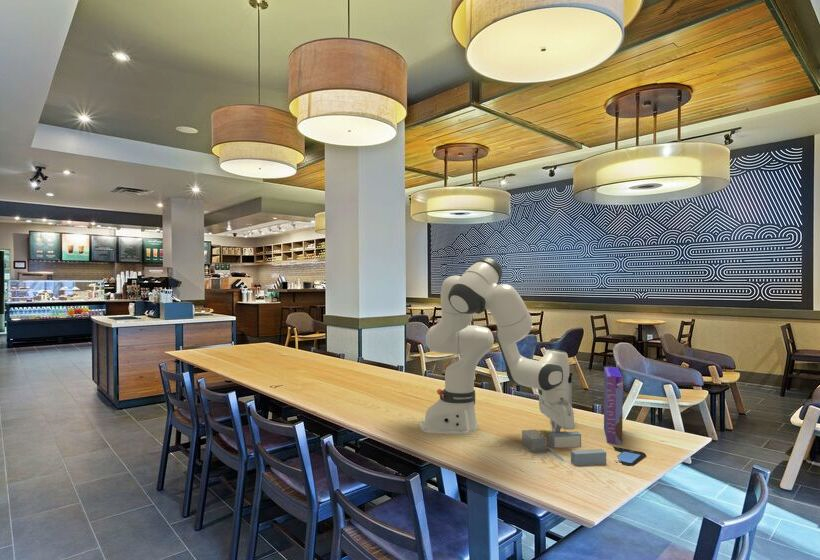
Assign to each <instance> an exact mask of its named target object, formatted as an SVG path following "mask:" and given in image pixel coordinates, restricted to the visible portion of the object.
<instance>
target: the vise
mask: <svg viewBox="0 0 820 560" xmlns="http://www.w3.org/2000/svg"><path fill="white" fill-rule="evenodd" d="M547 450H548V451H549V452H550V453H551V454H553V455H554V456H555V457H556V458H557V459H559V460H560V461H561V462H565V460H564V458H562V457H561V456H560V455H559V454H558V453H556V451H555V450H554V449H552V448H551V447H547ZM570 463H572V464H573V465H574V466H595V465H607V452H606V451H605V450H604V449H602V448H598V449H596V448H594V449H592V448H591V449H578V450H576V449H575V450H570Z"/></svg>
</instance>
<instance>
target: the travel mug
mask: <svg viewBox="0 0 820 560" xmlns="http://www.w3.org/2000/svg"><path fill="white" fill-rule="evenodd" d="M573 376H574V374H573V372H569V378H568V383H569V401H568V402H569V404H570V406H571V407H572V408H573V406H572V405H573V402H572V401H573V395H572V394H573V392H572V391H573V389H572V387H573V381H572V380H573V378H572V377H573Z"/></svg>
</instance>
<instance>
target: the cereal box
mask: <svg viewBox="0 0 820 560" xmlns="http://www.w3.org/2000/svg"><path fill="white" fill-rule="evenodd" d="M623 381H624V378H623V375H622V373H621V371H620V369H619V367H618V366H612V365H611V366H609V365H607V366H603V429H604V434H605V439H606V443H608V444H615V445H616V444H617V445H623V421H624V420H623V418H624V417H623V415H624V414H623V406H624V405H623V402H624V400H623V399H624V398H623V397H624V396H623V395H624V394H623V393H624V386H623V385H624V382H623Z"/></svg>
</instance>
